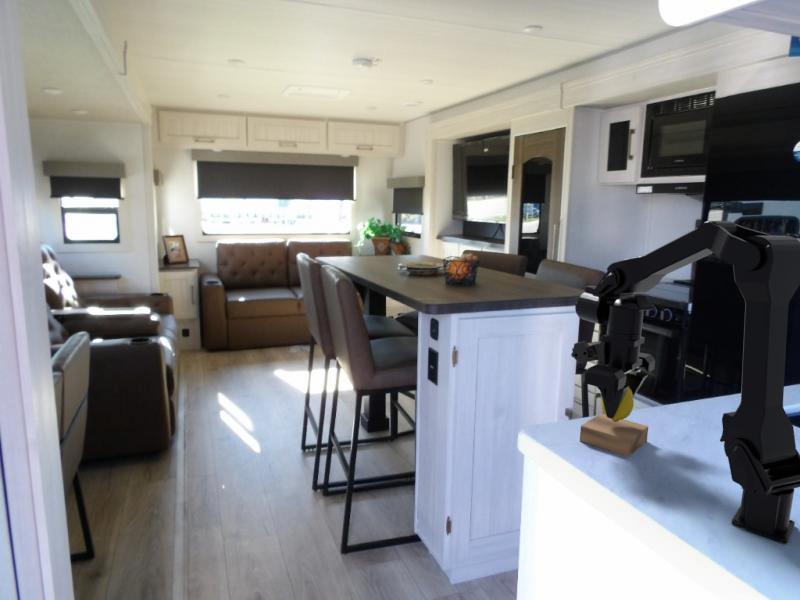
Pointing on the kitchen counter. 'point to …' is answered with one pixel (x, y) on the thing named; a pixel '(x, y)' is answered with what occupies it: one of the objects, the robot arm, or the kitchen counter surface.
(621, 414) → the lemon
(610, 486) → the kitchen counter surface
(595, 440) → the walnut block
